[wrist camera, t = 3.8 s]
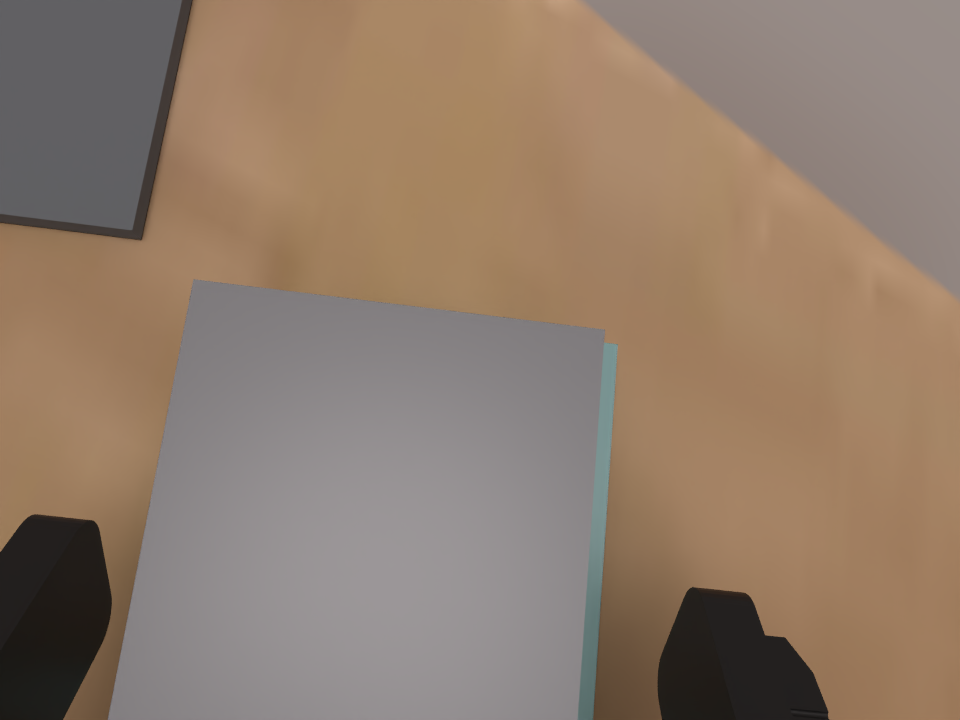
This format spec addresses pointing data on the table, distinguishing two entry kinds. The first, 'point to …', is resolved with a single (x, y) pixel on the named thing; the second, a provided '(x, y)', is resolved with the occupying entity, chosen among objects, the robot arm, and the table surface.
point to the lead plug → (365, 516)
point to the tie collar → (597, 535)
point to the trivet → (85, 109)
